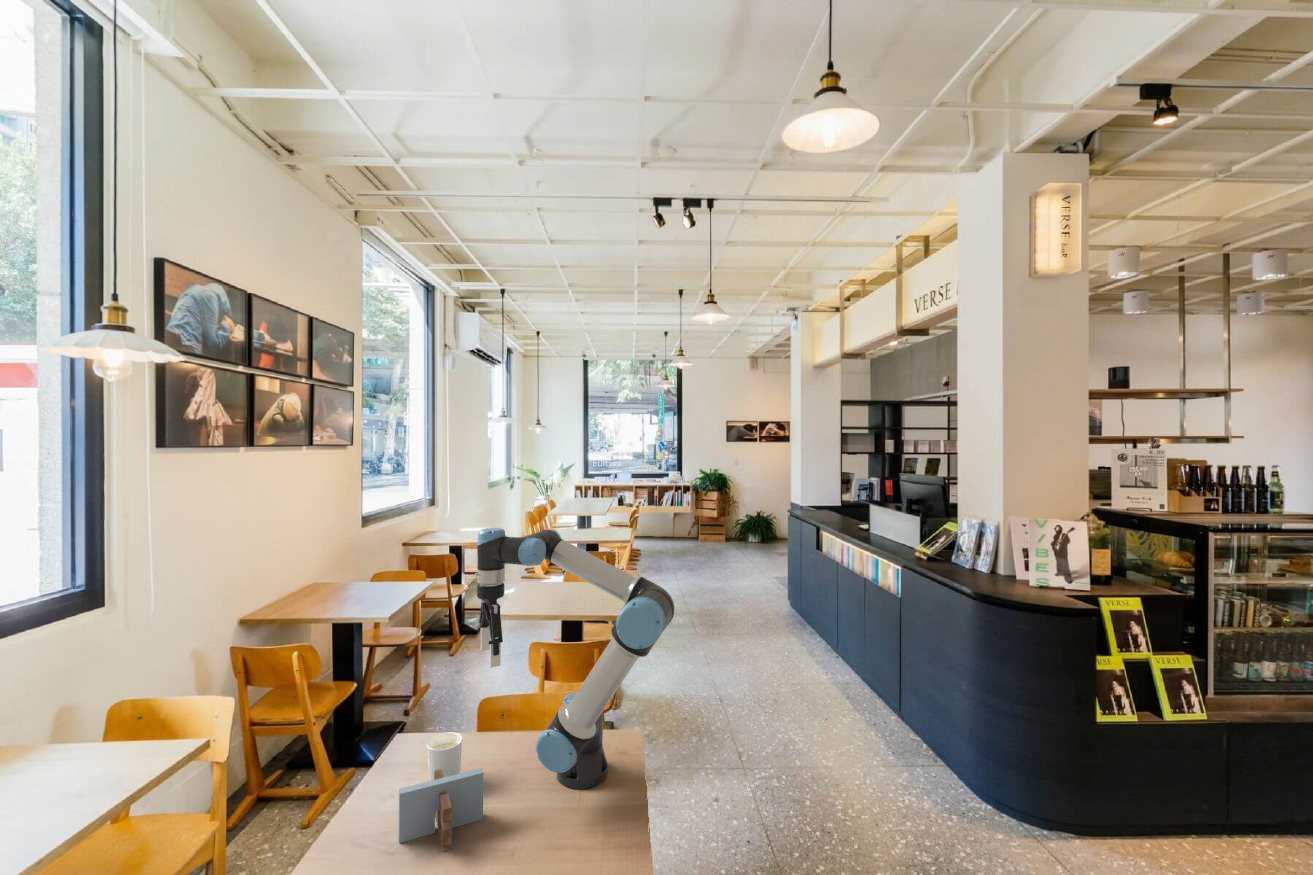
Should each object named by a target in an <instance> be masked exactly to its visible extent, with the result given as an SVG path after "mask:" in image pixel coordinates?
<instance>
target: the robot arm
mask: <svg viewBox="0 0 1313 875" xmlns="http://www.w3.org/2000/svg"><path fill="white" fill-rule="evenodd" d="M476 548H477V549H476V551H477V552H476V553H477V566H476V568H477V572H475V573H474V576H475V577H476V578H477V579H476V581H477V582H476V583H478V584H477V585H476V597H477V599H478V600H481V604H480V612H479V620H478V622H479V627H480V651H481V652H484V651H489V668H496V667H500V666H501V652H502V650H501V644H502V643H503V631H502V630H503V629H502V619H501V617H502V615H501V605H500V604H499V603H498V599H501V598H503V597H504V596H505V583H504V582H505V579H506V578H505V577H506V575H505V574H506V572H505V570H506V569H505V568H506V567H505V564H507V565H508V564H509V565H517V566H518V565H520V566H526V567H530V566H539V565H541V564H543V561H544V560H546V561H548V562H550V563H552V564H554V565H556V566H558V567H559V568H560V569H563V570H565V571H567V572H568V573H570V574H572V575H574V576H576V577H578V578H579V579H582V580H583V581H585V582H587V583H589V584H590V585H592V586H595V587H596V588H598V589H600V590H602V591H604V592H606V593H607V594H609V595H611V596H613V597H614V598H617V599H618V600H620V601H622V602H623V603H624V605H623V607H622V608H621V609H620V610H619V613H618V615H617V618H616V621H615V623H614V624H613V625H612V627H611V629H610V635H611V639H610V641H609V642H608V644H607V645H606V646H605V648H604V650H603V651H602V653H601V655H600V656H599V658H598V659H597V661H596V663H595V664H594V666H593V667H592V668H591V670H590V672H589V673H588V675H587V676H586V678H585V679H584V681H583V682H582V683H581V685H580V687H579V689H578V690H577V691H576V692H572V693H568V694H567V695H565V696H564V698H563V701H562V705H561V706H560V707H559V709H558V710H557V712H556V713H555V715H554V717H553V718H552V720H551V721H550V723H549V724H548V725H547V727H546V728H545V729H544V730H543V731H542V732H541V733H540V734H539V736H538V738H537V739H536V743H535V752H536V754H537V755H536V756H537V758H538V760H539V762H540V763H541V765H543V767H544V768H546V769H547V770H549V771H550V772H552V773H556V779H557V781H558V782H559V783H560V784H561V785H563V786H564V787H566V788H569V789H574V790H575V789H576V790H579V789H580V790H583V789H589V788H593V787H594V788H595V787H596V786H598V785H600V784H601V783H603V782H604V781H606V779H607V777H609V776H608V775H609V763H608V759H607V756H606V752H605V750H604V746H603V739H604V738H603V737H604V736H603V735H604V734H603V733H604V732H603V731H604V730H603V729H604V726H603V725H604V711H605V709H606V708H607V705H608V704H609V703H610V701H611V700H612V698H613V697H614V695H615V693H616V692H617V690H618V689H619V688H620V686H621V684H622V683H623V681H625V679H626V677H627V676H628V674H629V673H630V671H631V669H632V668H633V666H634V665H635V664H636V662H637V661H638V659H639V658H644V657H647V656H648V654H649V653H650V652H651V650H652V649H653V647H654V646H655V645H656V643H657V641H658V640H659V639H660V637H661V636H662V634H663V632H664V631H665V630H666V629H667V627H668V626H669V625H670V624H671V622H672V621H673V618H674V615H675V602H674V601H673V600H674V599H673V598H672V596H671V595H670V594H669V592H668V591H667V590H666V589H664V588H663V587H662V586H661V585H658V584H656V582H653V581H651V580H649V579H647V578H646V577H644V576H638V577H637V576H636V577H635V576H634V575H631V574H629V573H628V572H626V571H624V570H622V569H620V568H618V567H616V566H615V565H612V564H611V563H608V562H607V561H605V560H602V559H601V558H599V557H598V556H595V555H593V554H591V553H590V552H587V551H586V550H584V549H582V548H579V547H578V546H576V545H574V544H572V543H570V542H568V541H567V540H564V539H562V537H561V534H560V533H559V532H558V531H556V530H555V529H542V530H539V531H537V532H534V533H531V534H527V535H525V536H519V537H517V536H508V535H507V536H506V530H505V529H504V528H501V527H487V528H483V529H480V530H479V531H478V532H477V543H476Z"/></svg>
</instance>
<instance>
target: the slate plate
mask: <svg viewBox="0 0 1313 875" xmlns="http://www.w3.org/2000/svg"><path fill="white" fill-rule="evenodd" d="M484 775H485V774H484V770H483V768H482V767H480V768H477V769H476V768H475V769H472V770H469V771H464V772H460V774H456V775H452V776H448V777H444V778H440V779H436V780H432V781H425V782H420V783H416V784H412V785H409V786H405V787H400V788H398V836H397V837H398V844H402V843H405V842H409V841H411V840H415V839H419V838H422V837H425V836H430V835H433V834H435V833H436V832H435V831H436V817H435V812H436V811H439V794H440V793H444V792H448V794H449V798H450V802H451V806H452V829H453V828H457V827H461V826H464V825H466V824H470V823H474V822H478V821H481V820H483V819H484Z"/></svg>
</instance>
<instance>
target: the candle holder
mask: <svg viewBox="0 0 1313 875" xmlns="http://www.w3.org/2000/svg"><path fill="white" fill-rule="evenodd" d="M463 738H464V737H463V736H462V735H461V734H460V733H458V732H453V731H452V732H451V731H449V732H447V731H446V732H443V733H439V734H436V735H434V736H432V737H430V738H429V739H428V740H427V742H426V745H425V746H426V747H425V748H426V756H427V757H426V759H427V776H428V777H427V779H428V781H432V780H434V771H436V770H441V769H442V770H443V774H444V777H448V776H452V775H456V774H460V773H461V768H462V767H461V765H462V764H461V763H462V762H461V761H462V752H463V750H462V749H463ZM428 781H427V782H428Z"/></svg>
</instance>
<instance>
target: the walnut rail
mask: <svg viewBox="0 0 1313 875" xmlns="http://www.w3.org/2000/svg"><path fill="white" fill-rule="evenodd" d="M440 778H444V774H443V770H442V769H441V770H436V771H434V780H436V779H440ZM435 822H436V825H437V831H438V836H439V841H440V846H441V851H442V852H446V851H450V850H452V836H453V835H452V832H453V831H452V829H453V828H452V806H451V802H450V798H449V794H448V792H444V793H440V794H439V811H436V812H435Z"/></svg>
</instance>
